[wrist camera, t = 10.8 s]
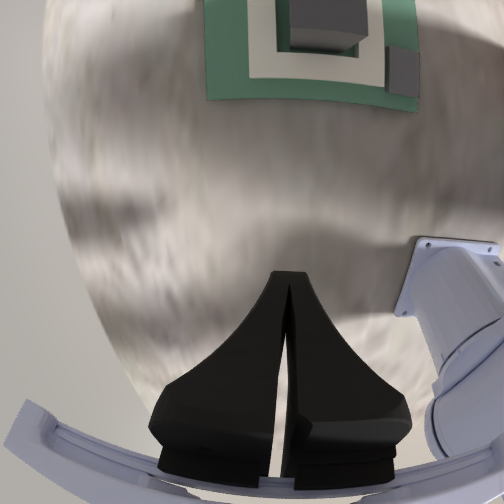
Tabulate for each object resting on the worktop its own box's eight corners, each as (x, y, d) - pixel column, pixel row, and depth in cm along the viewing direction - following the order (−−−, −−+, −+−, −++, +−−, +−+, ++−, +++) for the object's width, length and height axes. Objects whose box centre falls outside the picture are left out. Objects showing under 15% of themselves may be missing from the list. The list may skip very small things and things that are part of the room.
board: (405, -29, 9) (416, -38, 7) (412, 112, 15) (424, 115, 13) (207, -42, 10) (198, -53, 9) (210, 100, 16) (201, 101, 14)
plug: (338, -16, 10) (359, -56, 5) (341, 53, 13) (368, 36, 8) (287, -20, 11) (286, -64, 6) (289, 49, 13) (291, 27, 8)
